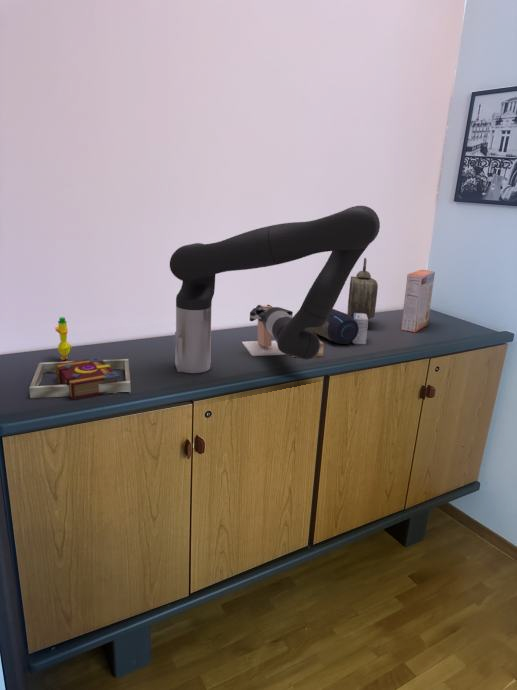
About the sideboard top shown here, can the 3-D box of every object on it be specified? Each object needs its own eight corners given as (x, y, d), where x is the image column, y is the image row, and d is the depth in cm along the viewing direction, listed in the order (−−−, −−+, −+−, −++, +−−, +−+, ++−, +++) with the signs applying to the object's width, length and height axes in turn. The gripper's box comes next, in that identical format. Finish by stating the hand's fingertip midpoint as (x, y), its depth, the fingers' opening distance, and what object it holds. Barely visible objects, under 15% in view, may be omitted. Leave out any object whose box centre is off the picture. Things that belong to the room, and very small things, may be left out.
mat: (252, 356, 150) (252, 354, 150) (241, 342, 162) (242, 341, 162) (287, 354, 153) (287, 353, 153) (274, 341, 165) (275, 340, 165)
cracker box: (412, 322, 197) (420, 269, 190) (428, 325, 193) (436, 271, 187) (399, 330, 186) (406, 273, 179) (415, 333, 182) (423, 275, 176)
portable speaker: (293, 328, 182) (295, 300, 179) (316, 325, 186) (318, 299, 183) (335, 348, 161) (338, 318, 158) (360, 345, 166) (363, 315, 163)
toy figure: (52, 357, 141) (49, 315, 138) (65, 354, 144) (62, 313, 140) (62, 363, 137) (59, 320, 133) (75, 361, 139) (72, 318, 135)
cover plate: (263, 346, 154) (263, 306, 152) (257, 343, 161) (257, 305, 159) (271, 346, 155) (271, 306, 153) (265, 343, 161) (265, 305, 160)
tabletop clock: (346, 320, 196) (352, 254, 189) (370, 321, 195) (377, 256, 188) (347, 329, 183) (354, 260, 175) (372, 332, 182) (381, 261, 174)
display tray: (30, 398, 115) (29, 388, 114) (40, 371, 130) (39, 362, 130) (130, 392, 120) (130, 382, 120) (128, 367, 136) (128, 358, 135)
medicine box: (365, 345, 166) (368, 319, 163) (352, 343, 167) (354, 318, 164) (364, 338, 174) (367, 313, 171) (351, 337, 174) (353, 312, 171)
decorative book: (71, 402, 115) (70, 381, 113) (54, 379, 127) (52, 360, 126) (120, 392, 121) (120, 373, 120) (99, 371, 134) (98, 353, 132)
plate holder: (293, 357, 150) (294, 344, 149) (281, 346, 160) (282, 334, 159) (322, 356, 153) (323, 343, 152) (309, 345, 163) (310, 333, 162)
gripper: (303, 310, 142) (285, 295, 158) (255, 311, 139) (241, 296, 155) (301, 335, 145) (283, 318, 161) (254, 337, 141) (240, 320, 157)
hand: (263, 307), depth 157 cm, fingers closed on cover plate, 2 cm apart
